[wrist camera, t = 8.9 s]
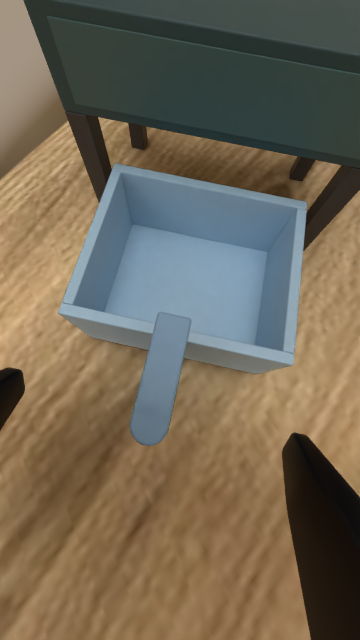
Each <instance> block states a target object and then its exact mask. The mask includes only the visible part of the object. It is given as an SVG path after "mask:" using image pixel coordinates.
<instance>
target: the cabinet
mask: <svg viewBox="0 0 360 640" xmlns="http://www.w3.org/2000/svg"><path fill="white" fill-rule="evenodd" d="M24 3H25V5H26V8H27V11H28V14H29V16H30V19H31V22H32V24H33V27H34V30H35V32H36V35H37V37H38V40H39V43H40V46H41V48H42V51H43V54H44V56H45V59H46V62H47V65H48V67H49V70H50V72H51V75H52V78H53V80H54V83H55V86H56V88H57V91H58V94H59V97H60V99H61V102H62V105H63V107H64V110H65V113H66V116H67V118H68V121H69V124H70V126H71V129H72V132H73V134H74V137H75V140H76V143H77V145H78V148H79V151H80V153H81V156H82V159H83V161H84V164H85V167H86V169H87V172H88V175H89V177H90V180H91V183H92V185H93V188H94V191H95V194H96V196H97V199H98V202H99V203H100V200H101V198H102V195H103V192H104V190H105V187H106V185H107V182H108V179H109V177H110V174H111V171H112V169H111V165H110V161H109V158H108V154H107V150H106V146H105V142H104V139H103V135H102V131H101V127H100V123H99V119H98V117H101V118H106V119H111V120H116V121H121V122H126V123H128V124H129V131H130V137H131V144H132V147H134V148H139V149H145V146H146V143H147V130H146V126H147V127H152V128H157V129H162V130H167V131H172V132H177V133H182V134H187V135H192V136H197V137H202V138H207V139H213V140H218V141H223V142H228V143H233V144H238V145H243V146H248V147H253V148H258V149H263V150H268V151H273V152H278V153H283V154H289V155H294V156H298V157H297V159H296V160H295V162H294V164H293V166H292V168H291V174H290V179H294V180H299V181H303V180H304V178H305V176H306V175H307V173H308V171H309V170H310V168H311V167H312V165H313V163H314V162H315V160H319V161H324V162H329V163H334V164H339V165H342V166H341V167H340V168H339V170H338V171H337V172H336V174H335V175H334V176H333V178H332V179H331V180H330V182H329V183H328V184H327V186H326V187H325V189H324V190H323V191H322V193H321V194H320V195H319V197H318V198H317V199H316V201H315V202H314V203H313V205H312V206H311V207H310V209H309V210H308V211H307V213H306V223H305V235H304V247H303V251H304V250H305V249H306V248H307V247H308V246H309V244H310V243H311V242H312V241H313V240H314V239H315V238H316V237H317V236H318V235H319V234H320V232H321V231H322V230H323V229H324V228H325V227H326V226H327V225H328V224H329V223H330V222H331V220H332V219H333V218H334V217H335V216H336V215H337V214H338V213H339V212H340V211H341V210H342V208H343V207H344V206H345V205H346V204H347V203H348V202H349V201H350V200H351V199H352V198H353V196H354V195H355V194H356V193H357V192H358V191H359V190H360V0H24Z"/></svg>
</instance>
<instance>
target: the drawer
mask: <svg viewBox="0 0 360 640" xmlns="http://www.w3.org/2000/svg"><path fill="white" fill-rule="evenodd" d="M306 210H307V202H305V201H300V200H295V199H290V198H285V197H280V196H275V195H270V194H265V193H260V192H255V191H250V190H246V189H241V188H236V187H231V186H226V185H221V184H216V183H211V182H206V181H201V180H196V179H191V178H186V177H181V176H176V175H171V174H166V173H162V172H157V171H152V170H147V169H142V168H137V167H132V166H127V165H122V164H117V163H115V164H114V166H113V169H112V171H111V174H110V177H109V179H108V182H107V185H106V187H105V190H104V192H103V195H102V198H101V200H100V203H99V206H98V208H97V211H96V214H95V216H94V219H93V221H92V224H91V227H90V229H89V232H88V235H87V237H86V240H85V243H84V245H83V248H82V250H81V253H80V256H79V258H78V261H77V264H76V266H75V269H74V272H73V274H72V277H71V279H70V282H69V285H68V287H67V290H66V293H65V295H64V298H63V301H62V304H61V306H60V308H59V311H58V314H60V315H61V316H63V317H64V318H65V319H67V320H68V321H69V322H71V323H72V324H74V325H75V326H76V327H78V328H79V329H80V330H82V331H83V332H84V333H86V334H87V335H89V336H90V337H92V338H96V339H101V340H105V341H110V342H114V343H119V344H123V345H128V346H132V347H137V348H141V349H146V350H148V353H147V357H146V361H145V365H144V369H143V373H142V377H141V381H140V385H139V388H138V392H137V396H136V400H135V404H134V408H133V412H132V416H131V420H130V431H131V434H132V436H133V438H134V439H135V440H136V441H137V442H138V443H140V444H142V445H145V446H152V445H156V444H158V443H159V442H161V441H162V440H163V439H164V438H165V436H166V435H167V432H168V429H169V425H170V420H171V415H172V411H173V406H174V401H175V397H176V392H177V387H178V383H179V378H180V373H181V369H182V364H183V359H184V358H186V359H190V360H195V361H199V362H204V363H208V364H213V365H217V366H222V367H226V368H231V369H235V370H240V371H244V372H249V373H253V374H259V373H264V372H268V371H272V370H276V369H280V368H284V367H288V366H292V365H293V364H294V354H293V353H294V352H295V341H296V329H297V317H298V305H299V294H300V282H301V270H302V259H303V247H304V235H305V223H306V212H307V211H306Z"/></svg>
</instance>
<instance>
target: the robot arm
mask: <svg viewBox="0 0 360 640" xmlns="http://www.w3.org/2000/svg"><path fill="white" fill-rule="evenodd" d="M24 391H25V384H24V378H23V372H22V371H21V370H19V369H15V368H5V369H2V370H0V430H1V429H2V427H3V426H4V424H5V422H6V421H7V419H8V418H9V416H10V415H11V413H12V412H13V410H14V408H15V407H16V405H17V404H18V402H19V401H20V399H21V398H22V396H23V394H24ZM282 460H283V472H284V483H285V495H286V505H287V512H288V518H289V523H290V529H291V534H292V539H293V545H294V550H295V556H296V561H297V566H298V572H299V577H300V583H301V588H302V593H303V599H304V604H305V610H306V615H307V620H308V626H309V631H310V637H311V640H360V497H359V496H358V495H357V493H356V492H355V491H354V490H353V489H352V488H351V486H350V485H349V484H348V483H347V482H346V481H345V479H344V478H343V477H342V476H341V475H340V474H339V472H338V471H337V470H336V469H335V468H334V467H333V465H332V464H331V463H330V462H329V461H328V460H327V458H326V457H325V456H324V455H323V454H322V453H321V451H320V450H319V449H318V448H317V447H316V446H315V444H314V443H313V442H312V441H311V440H310V438H309V437H308V436H306V435H303V434H299V433H292V434H291V436H290V437H289V439H288V441H287V442H286V444H285V446H284V448H283V451H282Z"/></svg>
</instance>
